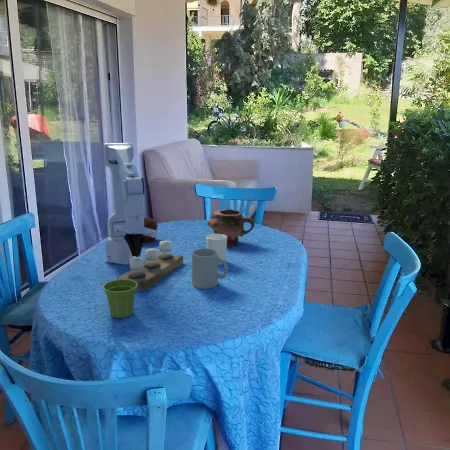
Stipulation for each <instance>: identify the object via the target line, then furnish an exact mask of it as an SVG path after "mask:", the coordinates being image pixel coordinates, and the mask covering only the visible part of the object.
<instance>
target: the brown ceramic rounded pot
mask: <svg viewBox="0 0 450 450" xmlns="http://www.w3.org/2000/svg"><path fill="white" fill-rule="evenodd" d="M245 223H249V224H250V228H249V229H248V230H245V229H244V226H245V225H244V224H245ZM255 225H256V224H255V222H254V219H252V218H251V217H248V216H243V214H242V212H240V211H238V210H235V209H231V208H230V209H222V210H216V211H214V212H213V213H212V215H211V217H210V219H208V220H207V226H208V227H209V228H211V230H212V231H213V234H223V235H226V236H227V247H234V246H237V245H238V243H239V237H240V238H242V237H244V236H245V235H248V234H250V232H251V231H253V229H254V227H255Z"/></svg>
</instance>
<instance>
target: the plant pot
mask: <svg viewBox="0 0 450 450" xmlns="http://www.w3.org/2000/svg"><path fill="white" fill-rule="evenodd" d="M137 286H138V284H137V282H135V281H133V280H128V279H118V280H117V279H113V280H110V281H109V280H108V281H107V282H105V283H104V284H103V286H102V289H103V290H104V292H105V294H106V299H107V302H108V303H107V304H108V308H109V313H110V316H112V317H113V318H116V319H124V318H127V317H129V316H132V314H133V313H134V305H135V304H134V302H135V295H136V291H137V290H136V288H137Z"/></svg>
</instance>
